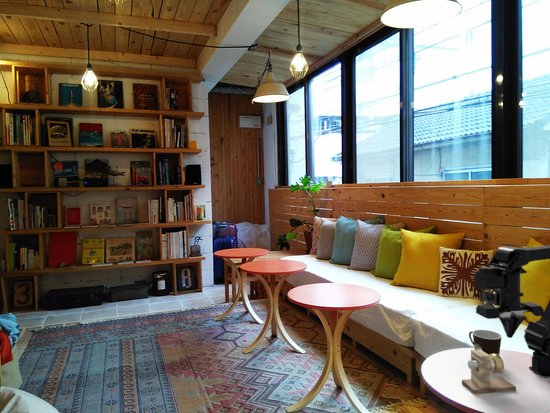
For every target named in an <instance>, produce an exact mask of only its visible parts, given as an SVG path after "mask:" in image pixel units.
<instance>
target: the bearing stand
mask: <svg viewBox="0 0 550 413" xmlns="http://www.w3.org/2000/svg"><path fill="white" fill-rule="evenodd" d="M476 360H477V361H479V369H470V379H461V384H462V385H463V386H464V387H465V388H466V389H467V390H469V391H470V392H471V393H472V394H473V395H478V394H491V393H505V392H517V386H516V385H514V384H513V383H511V382H510V381H508V380H507V379H506V378H504V377H503V376H497V377H491V371H490V355H488V354H487V353H485V352H483V351H482V350H475V349H471V350H470V361H476Z"/></svg>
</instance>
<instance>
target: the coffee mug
mask: <svg viewBox="0 0 550 413" xmlns="http://www.w3.org/2000/svg"><path fill="white" fill-rule="evenodd" d="M468 337H469V339H470V343H471V344H472V345H473V347H474V350H482V351H483V352H485V353H487V354H488V355H489V354H498V355H499V356H500V352H501V344H502V334H500V333H499V332H496V331H493V330H488V329H475V330H472V331H469V333H468Z"/></svg>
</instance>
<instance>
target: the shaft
mask: <svg viewBox="0 0 550 413" xmlns="http://www.w3.org/2000/svg"><path fill="white" fill-rule="evenodd" d="M489 355H490V372H492V373H493V374H499V373H500V374H501V373H503V372H504V370H505V364H504V360H503V358H502V357H501V356H500V354H499V355H498V354H489ZM467 366H468V368H469V369H470V370H471V369H479V361H477V360H476V361H471V360H468V361H467Z"/></svg>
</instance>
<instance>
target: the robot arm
mask: <svg viewBox="0 0 550 413" xmlns="http://www.w3.org/2000/svg"><path fill="white" fill-rule="evenodd" d="M545 260H546V261H547V260H550V244H549V245H543V246H533V247H524V248H523V247H514V246H513V247H512V246H503V245H502V246H500V247H498V248H497V249H496V251H495V254H493V256H492V258H491V260H490V261H489V263H488V264H487V267H485V266H482V267H481V266H479V267H478V271H476V273H475V274H474V277H473V282H474V285H475V287H476V288H477V290H479V291H481V301H482V302H486V304H477V305H476V308H475V313H476V314H477V315H479V316H481V317H483V318H485V319H487V320H492V319H499V321H500V322H501V325H502V326H503V330H504V332H505V334H506V337H507V338H508V339H512V338H513V337H514V335H515V333H516V331H518V329H519V327H520V326H521V324H522V323H524V321H525V320H527V316H524V313H531V314H532V315H533V316H534V317H540V318H539V319H538V320H536V321H533V320H530V321H529V322H528V324H527V327H526V328H525V329H524V332H525V333H524V334H523V338H524V341H525V343H526V345H527V348H528V349H529V350H531V351H532V356H531V366H528V369H529V370H531V371H533V372H534V373H536V374H537V375H539V376H541V377H543V378H550V300H549V301H548V303H547V305H546V307H545V309H544V308H543V307H542V305H540V304H537V303H534V302H531V301H525V302H521V297H524V292H522V291H521V274H527V272H528V271H527V270H525V268H523V267H524V266H527V265H528V264H530V263H531V262H537V261H545ZM485 290H486V291H485ZM489 290H495V291H494V292H495V293H491V292H490V291H489ZM493 305H494V306H493ZM496 306H497V307H496Z"/></svg>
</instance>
